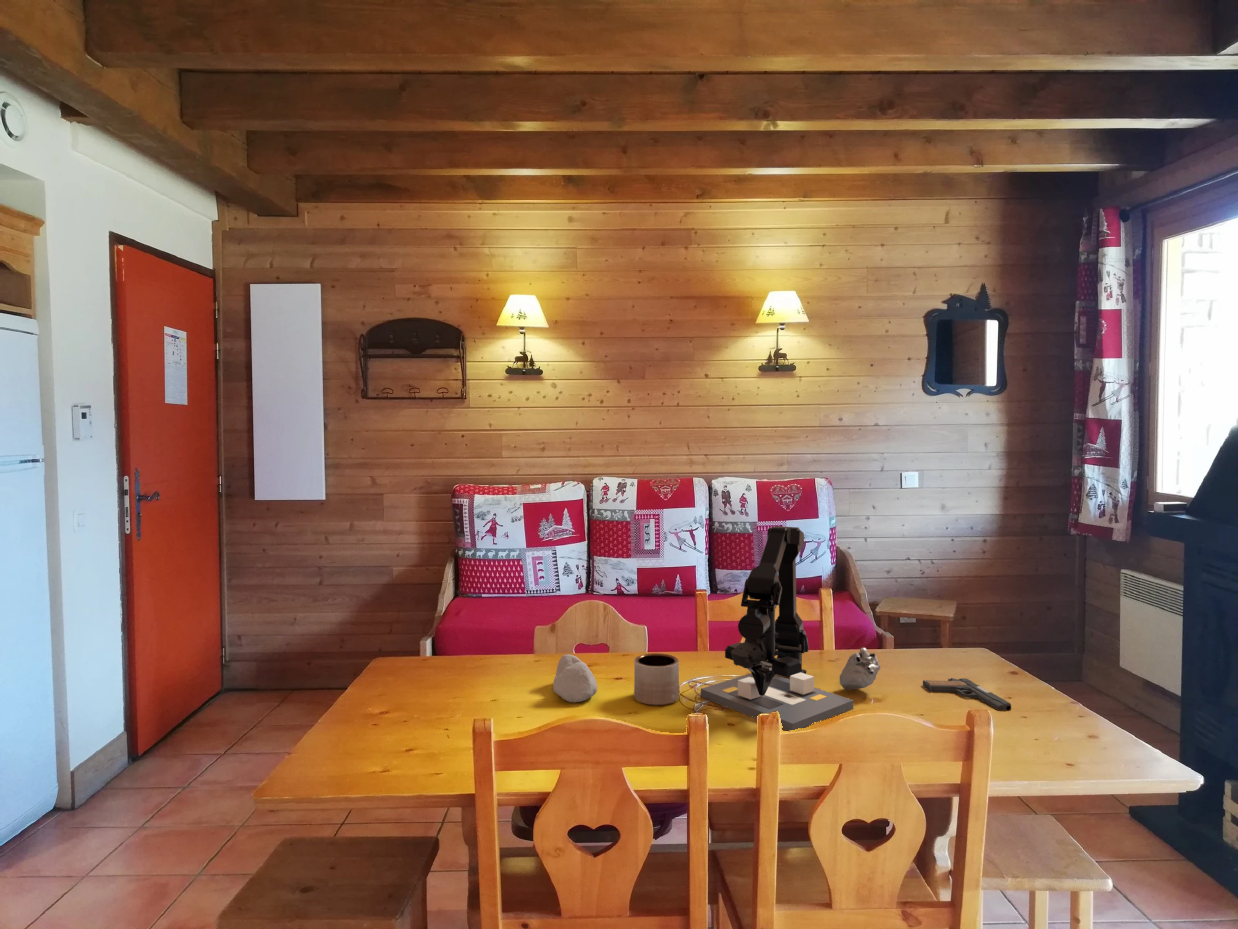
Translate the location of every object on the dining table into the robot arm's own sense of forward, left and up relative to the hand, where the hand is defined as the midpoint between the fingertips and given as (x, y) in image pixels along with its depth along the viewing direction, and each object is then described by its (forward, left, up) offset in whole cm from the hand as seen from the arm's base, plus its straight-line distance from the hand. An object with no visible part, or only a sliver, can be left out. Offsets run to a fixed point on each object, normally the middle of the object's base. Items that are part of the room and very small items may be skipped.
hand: (762, 695), depth 182 cm
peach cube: (-12, +2, -1) cm, 12 cm away
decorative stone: (+28, -37, -4) cm, 46 cm away
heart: (-28, +7, -4) cm, 29 cm away
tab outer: (0, -4, -1) cm, 4 cm away
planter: (+14, -21, -4) cm, 25 cm away
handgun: (-44, +26, -4) cm, 51 cm away
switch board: (-6, -1, -3) cm, 7 cm away
